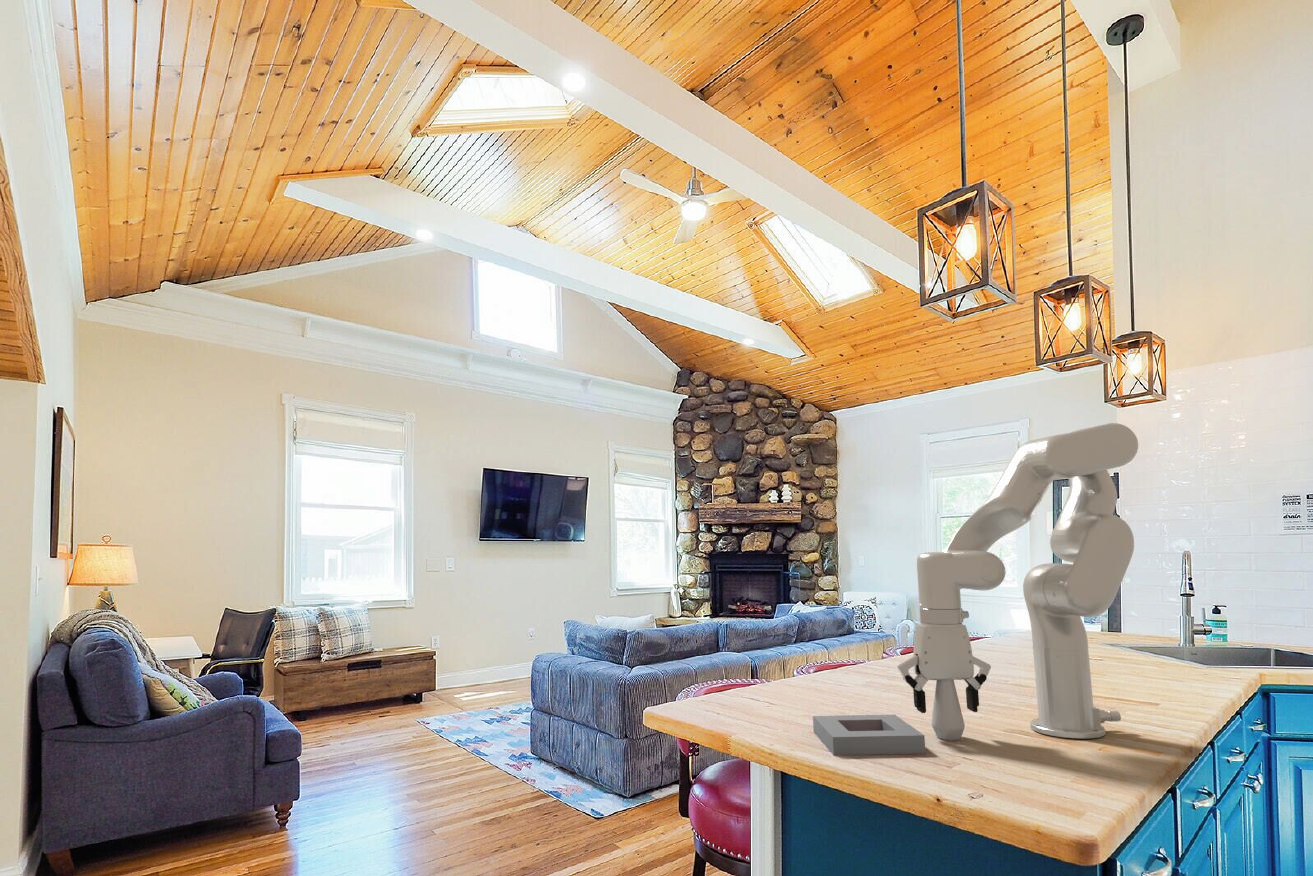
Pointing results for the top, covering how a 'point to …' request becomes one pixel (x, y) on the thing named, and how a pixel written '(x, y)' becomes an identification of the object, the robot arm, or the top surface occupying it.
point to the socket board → (868, 735)
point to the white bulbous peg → (947, 711)
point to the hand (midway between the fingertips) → (946, 711)
